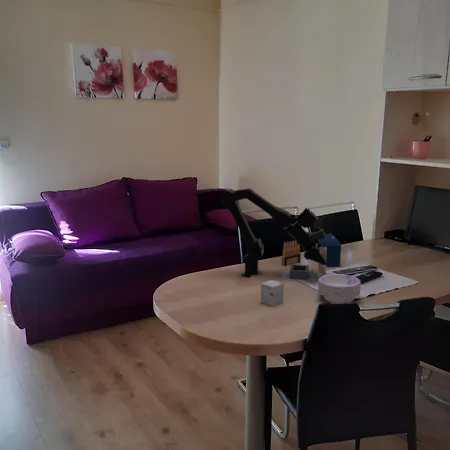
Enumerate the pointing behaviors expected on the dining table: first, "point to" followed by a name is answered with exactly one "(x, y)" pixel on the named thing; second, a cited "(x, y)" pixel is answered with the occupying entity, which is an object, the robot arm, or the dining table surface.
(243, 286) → the dining table surface
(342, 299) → the paper bowls
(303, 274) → the end cap
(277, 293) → the skincare box
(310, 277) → the base board
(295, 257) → the ammunition clip
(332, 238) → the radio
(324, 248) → the slat
